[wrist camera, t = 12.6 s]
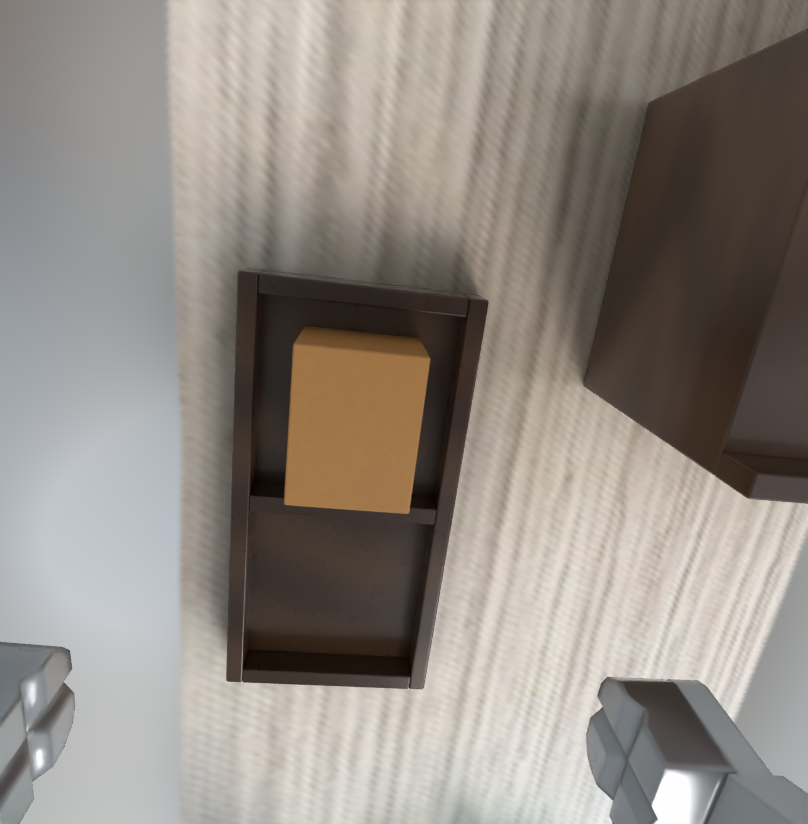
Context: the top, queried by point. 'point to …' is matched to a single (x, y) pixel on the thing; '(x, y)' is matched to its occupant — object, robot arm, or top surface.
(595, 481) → the top surface
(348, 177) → the top surface
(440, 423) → the shelf
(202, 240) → the top surface
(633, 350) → the cubby
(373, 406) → the cardboard-colored box
